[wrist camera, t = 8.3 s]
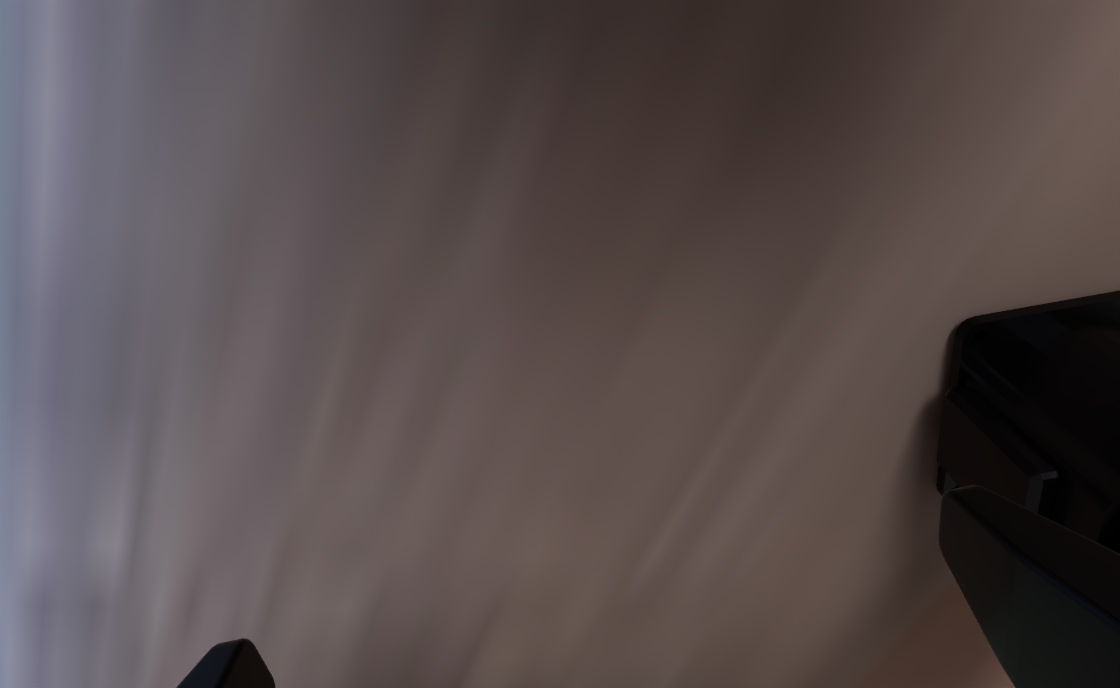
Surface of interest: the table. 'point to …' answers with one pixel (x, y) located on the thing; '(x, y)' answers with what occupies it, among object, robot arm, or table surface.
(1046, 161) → the table surface
